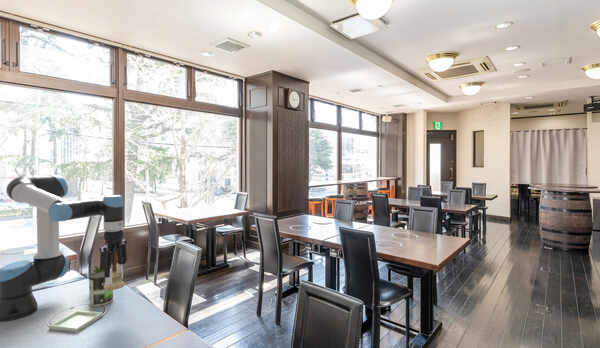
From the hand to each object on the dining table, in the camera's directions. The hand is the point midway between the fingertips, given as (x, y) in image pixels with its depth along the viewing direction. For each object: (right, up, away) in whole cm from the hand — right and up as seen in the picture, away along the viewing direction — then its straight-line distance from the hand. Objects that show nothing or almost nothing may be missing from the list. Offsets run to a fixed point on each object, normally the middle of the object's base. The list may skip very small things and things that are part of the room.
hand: (114, 281), depth 136 cm
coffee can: (-18, -17, +19) cm, 31 cm away
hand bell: (0, -3, 0) cm, 3 cm away
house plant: (-28, -17, +32) cm, 46 cm away
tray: (-15, -18, -2) cm, 23 cm away
